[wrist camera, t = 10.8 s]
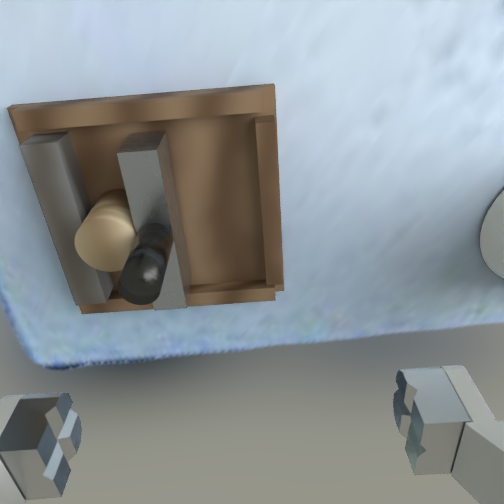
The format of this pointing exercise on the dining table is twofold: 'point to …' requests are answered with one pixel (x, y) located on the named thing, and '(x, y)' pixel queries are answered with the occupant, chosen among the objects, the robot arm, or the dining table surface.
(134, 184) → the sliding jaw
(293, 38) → the dining table surface
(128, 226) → the beige wooden cylinder
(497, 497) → the robot arm
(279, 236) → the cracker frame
